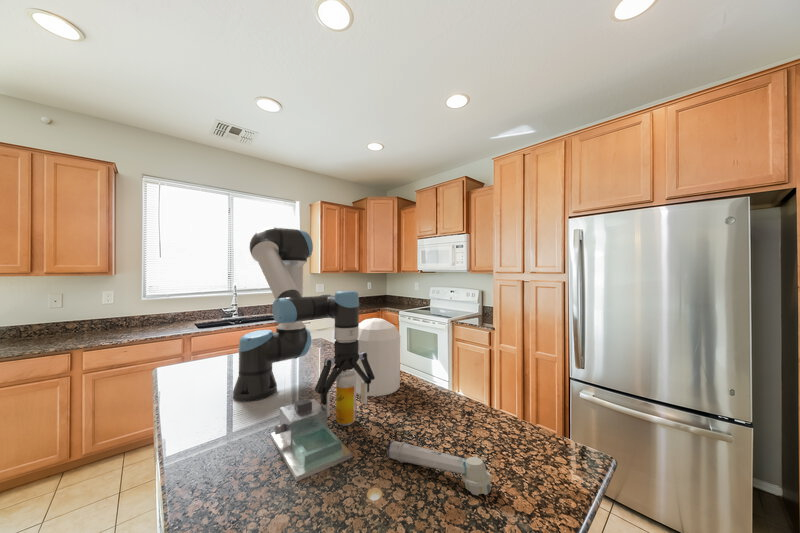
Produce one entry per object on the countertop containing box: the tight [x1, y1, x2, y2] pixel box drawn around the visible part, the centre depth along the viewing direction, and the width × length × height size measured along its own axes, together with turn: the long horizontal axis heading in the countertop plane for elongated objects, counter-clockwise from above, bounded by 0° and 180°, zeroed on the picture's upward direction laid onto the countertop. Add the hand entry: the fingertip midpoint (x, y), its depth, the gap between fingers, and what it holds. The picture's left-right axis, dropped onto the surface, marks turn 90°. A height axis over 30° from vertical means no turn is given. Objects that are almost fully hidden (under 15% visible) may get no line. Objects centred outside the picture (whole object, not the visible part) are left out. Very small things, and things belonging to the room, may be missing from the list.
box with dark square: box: [270, 398, 353, 483], centre depth 78 cm, size 22×14×10 cm, turn 38°
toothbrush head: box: [386, 440, 493, 496], centre depth 69 cm, size 5×7×25 cm
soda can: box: [335, 370, 357, 427], centre depth 92 cm, size 6×6×15 cm
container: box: [348, 317, 401, 397], centre depth 121 cm, size 21×21×28 cm
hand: (346, 408), depth 92 cm, fingers open, 12 cm apart
